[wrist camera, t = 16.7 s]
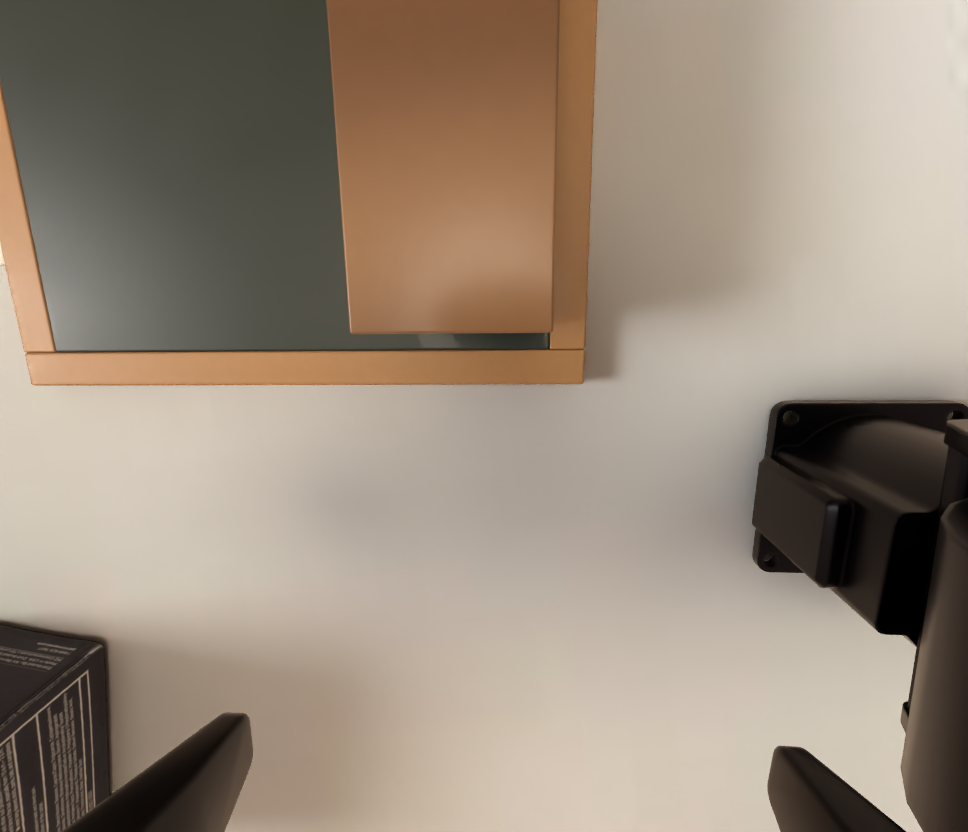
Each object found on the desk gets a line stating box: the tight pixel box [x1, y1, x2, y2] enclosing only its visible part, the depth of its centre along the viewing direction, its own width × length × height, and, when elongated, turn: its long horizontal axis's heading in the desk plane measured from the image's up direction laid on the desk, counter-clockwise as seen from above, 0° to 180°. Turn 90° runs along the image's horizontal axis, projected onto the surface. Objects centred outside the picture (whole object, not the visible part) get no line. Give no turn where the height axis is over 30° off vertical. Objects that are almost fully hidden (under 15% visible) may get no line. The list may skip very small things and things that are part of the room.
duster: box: [326, 0, 560, 334], centre depth 13 cm, size 12×5×5 cm, turn 1°
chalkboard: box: [0, 0, 597, 385], centre depth 16 cm, size 20×16×1 cm
